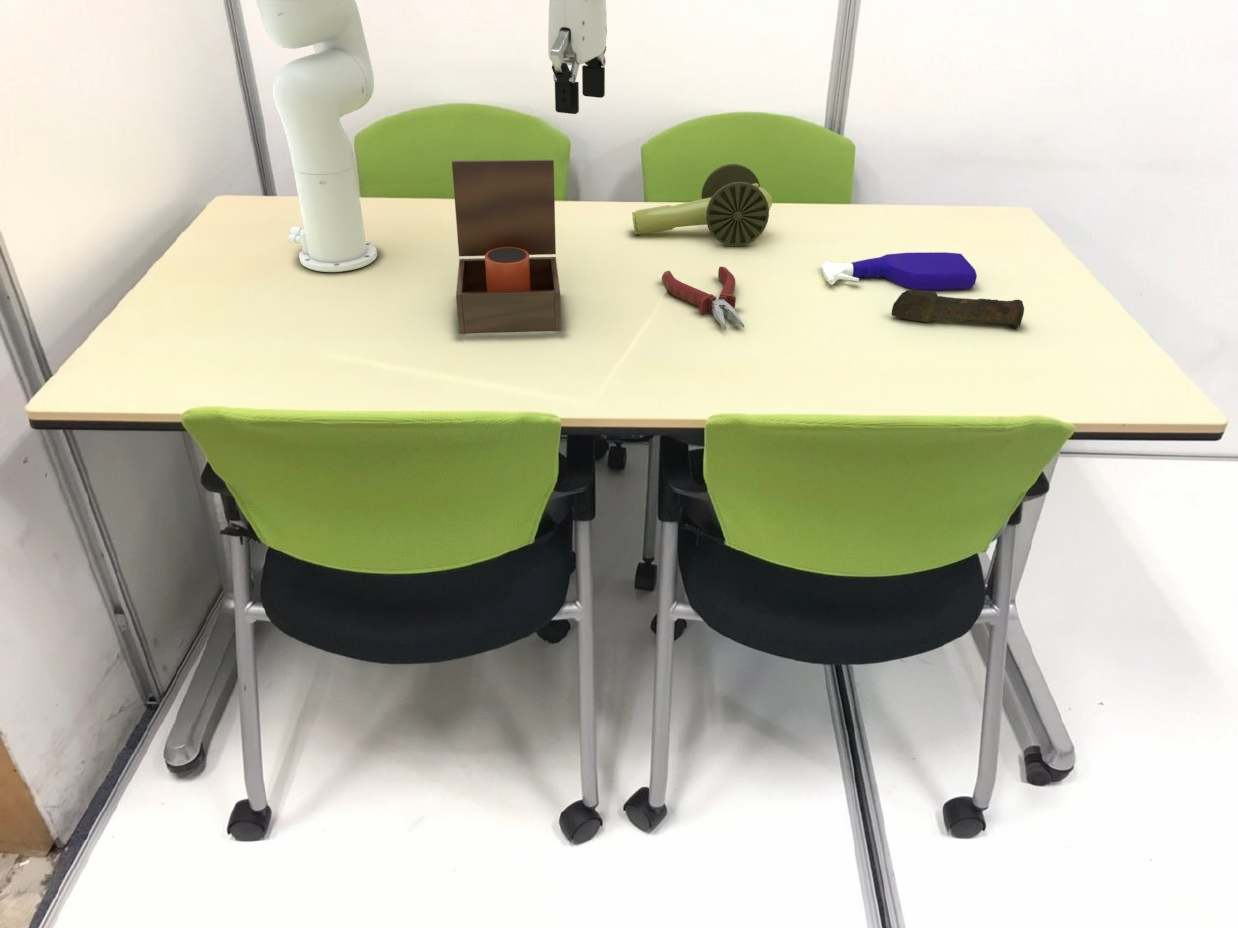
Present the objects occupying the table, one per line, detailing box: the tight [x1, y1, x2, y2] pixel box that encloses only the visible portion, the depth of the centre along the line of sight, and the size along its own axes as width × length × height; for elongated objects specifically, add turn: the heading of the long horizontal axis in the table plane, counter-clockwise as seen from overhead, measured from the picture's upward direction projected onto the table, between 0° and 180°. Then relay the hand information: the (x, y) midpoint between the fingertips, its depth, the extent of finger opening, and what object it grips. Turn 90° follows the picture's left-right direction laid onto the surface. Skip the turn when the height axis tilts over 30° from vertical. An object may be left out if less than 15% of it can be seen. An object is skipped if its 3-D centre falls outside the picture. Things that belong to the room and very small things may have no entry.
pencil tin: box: [484, 247, 531, 292], centre depth 137 cm, size 6×6×9 cm
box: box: [455, 256, 562, 335], centre depth 138 cm, size 13×15×7 cm
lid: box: [451, 158, 557, 257], centre depth 139 cm, size 14×15×5 cm
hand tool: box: [890, 289, 1025, 329], centre depth 141 cm, size 19×4×5 cm, turn 82°
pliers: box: [661, 266, 745, 331], centre depth 144 cm, size 12×20×3 cm, turn 14°
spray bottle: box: [820, 251, 978, 291], centre depth 154 cm, size 3×11×24 cm
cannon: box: [631, 163, 773, 248], centre depth 166 cm, size 25×12×11 cm, turn 91°
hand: (580, 104), depth 128 cm, fingers open, 9 cm apart
